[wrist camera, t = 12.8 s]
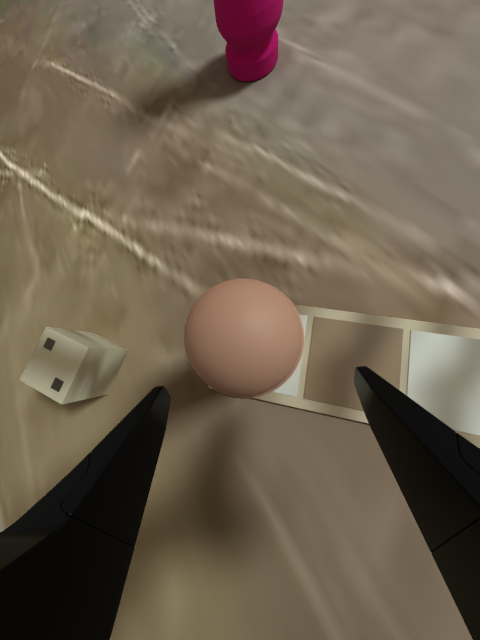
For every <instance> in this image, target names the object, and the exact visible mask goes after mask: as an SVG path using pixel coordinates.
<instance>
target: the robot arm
mask: <svg viewBox="0 0 480 640" xmlns="http://www.w3.org/2000/svg"><path fill="white" fill-rule="evenodd" d="M353 381H354V385H355V388H356V391H357V394H358V396H359V399H360V402H361V405H362V408H363V411H364V413H365V416H366V418H367V421H368V423H369V425H370V427H371V429H372V431H373V433H374V435H375V437H376V439H377V442H378V444H379V446H380V448H381V450H382V452H383V454H384V456H385V458H386V460H387V462H388V464H389V466H390V468H391V471H392V473H393V475H394V477H395V479H396V481H397V483H398V485H399V487H400V489H401V491H402V493H403V495H404V497H405V500H406V502H407V504H408V506H409V508H410V510H411V512H412V514H413V516H414V518H415V520H416V522H417V524H418V526H419V528H420V531H421V533H422V535H423V537H424V539H425V541H426V543H427V545H428V547H429V549H430V551H431V552H432V556H433V558H434V560H435V562H436V564H437V566H438V568H439V570H440V572H441V574H442V576H443V578H444V581H445V583H446V585H447V587H448V589H449V591H450V593H451V595H452V597H453V599H454V601H455V603H456V605H457V607H458V610H459V612H460V614H461V616H462V618H463V620H464V622H465V624H466V626H467V628H468V630H469V632H470V634H471V636H472V639H473V640H480V449H479V448H478V447H477V446H475V445H474V444H472V443H471V442H470V441H468V440H467V439H465V438H464V437H463V436H461V435H460V434H459V433H456V432H455V431H454V430H453V429H452V428H450V427H449V426H448V425H446V424H445V423H444V422H442V421H441V420H439V419H438V418H437V417H435V416H434V415H433V414H431V413H430V412H428V411H427V410H426V409H424V408H423V407H422V406H420V405H419V404H418V403H416V402H415V401H413V400H412V399H411V398H409V397H408V396H407V395H405V394H404V393H403V392H401V391H400V390H398V389H397V388H396V387H394V386H393V385H392V384H390V383H389V382H388V381H386V380H385V379H383V378H382V377H381V376H379V375H378V374H377V373H375V372H374V371H372V370H371V369H370V368H368V367H367V366H358V367H356V368H355V372H354V379H353ZM169 406H170V395H169V393H168V392H167V390H166V388H165V387H164V386H157V387H155V388H153V389H152V390H151V391H150V392H149V393H148V394H147V395H146V396H145V397H144V398H143V399H142V401H141V402H140V403H139V404H138V405H137V406H136V407H135V408H134V409H133V410H132V411H131V412H130V413H129V414H128V415H127V416H126V417H125V418H124V419H123V420H122V421H121V422H120V423H119V424H118V425H117V426H116V427H115V428H114V429H113V430H112V431H111V432H110V433H109V434H108V435H107V436H106V437H105V438H104V439H103V440H102V441H101V442H100V443H99V444H98V445H97V446H96V447H95V448H94V449H93V450H92V451H91V453H89V454H88V455H87V456H86V457H85V458H84V459H83V460H82V461H81V462H80V463H79V464H78V465H77V466H76V467H75V468H74V469H73V470H72V471H71V472H70V473H69V474H68V475H67V476H66V477H65V478H63V479H62V480H61V481H60V482H59V483H58V484H57V485H56V486H55V487H54V488H53V489H52V490H50V491H49V492H48V493H47V494H46V495H45V496H44V497H43V498H42V499H41V500H39V501H38V502H37V503H36V504H35V505H34V506H33V507H32V508H31V509H30V510H28V511H27V512H26V513H25V514H24V515H23V516H22V517H21V518H19V519H18V520H17V521H16V522H15V523H13V524H12V525H11V526H9V527H8V528H7V529H5V530H4V531H2V532H0V640H109V639H110V636H111V633H112V629H113V626H114V622H115V618H116V614H117V611H118V607H119V603H120V599H121V596H122V592H123V588H124V585H125V581H126V577H127V573H128V570H129V566H130V562H131V558H132V555H133V551H134V546H135V543H136V539H137V535H138V532H139V528H140V524H141V521H142V517H143V513H144V509H145V506H146V502H147V498H148V494H149V491H150V487H151V483H152V479H153V476H154V472H155V468H156V464H157V461H158V457H159V453H160V450H161V446H162V442H163V438H164V434H165V430H166V425H167V419H168V412H169Z"/></svg>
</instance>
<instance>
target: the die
mask: <svg viewBox="0 0 480 640" xmlns="http://www.w3.org/2000/svg"><path fill="white" fill-rule="evenodd" d="M127 352H128V349H126V348H124V347H122V346H120V345H117V344H115V343H113V342H111V341H109V340H107V339H105V338H103V337H100V336H98V335H96V334H94V333H90V332H83V331H75V330H68V329H60V328H53V327H46V328H45V330H44V332H43V334H42V336H41V338H40V340H39V342H38V344H37V346H36V348H35V350H34V352H33V354H32V356H31V358H30V360H29V362H28V364H27V366H26V368H25V370H24V372H23V374H22V376H21V378H20V380H21V381H22V382H24V383H26V384H28V385H29V386H31V387H33V388H34V389H36V390H38V391H39V392H41V393H43V394H44V395H46V396H48V397H49V398H51V399H53V400H55V401H56V402H58V403H60V404H61V405H62V404H67V403H71V402H76V401H80V400H85V399H89V398H94V397H99V396H103V395H108V393H109V391H110V389H111V387H112V385H113V382H114V380H115V378H116V376H117V374H118V371H119V369H120V367H121V365H122V363H123V360H124V358H125V356H126V354H127Z"/></svg>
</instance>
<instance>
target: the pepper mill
mask: <svg viewBox="0 0 480 640" xmlns="http://www.w3.org/2000/svg"><path fill="white" fill-rule="evenodd" d="M214 8H215V16H216V23H217V27H218V29H219V32H220V33H221V35H222V36H223V38H224V39H225V40H226V41H227V45H226V57H227V63H228V69H229V72H230V74H231V75H232V76H233V77H234V78H235V79H237V80H239V81H245V82H250V81H255V80H258V79H260V78H262V77H264V76H265V75H267V74H268V73H269V72H270V71H271V70H272V69H273V68H274V66H275V65H276V62H277V59H278V34H277V31H276V30H275V28H276V26H277V24H278V22H279V19H280V17H281V13H282V8H283V0H214Z"/></svg>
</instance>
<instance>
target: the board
mask: <svg viewBox="0 0 480 640" xmlns="http://www.w3.org/2000/svg"><path fill="white" fill-rule="evenodd" d="M294 306H295V308H296V310H297V311H298V313H299V316H300V318H301V321H302V325H303V330H304V347H303V352H302V356H301V359H300V362H299V364H298V366H297V368H296V370H295V371H294V373H293V374H292V376H291V377H290V378H289V379H288V380H287V381H286V382H285V383H284V384H283V385H282V386H280V387H279V388H277V389H276V390H274V391H273V392H271V393H268V394H266V395H263V396H260V397H256V398H255V399H260V400H264V401H269V402H273V403H278V404H282V405H287V406H291V407H296V408H300V409H305V410H310V411H314V412H319V413H323V414H328V415H332V416H337V417H341V418H346V419H350V420H355V421H359V422H364V423H368V421H367V418H366V416H365V413H364V411H363V408H362V405H361V402H360V399H359V396H358V394H357V391H356V388H355V385H354V381H353V379H354V372H355V368H356V367H358V366H367V367H368V368H370V369H371V370H372V371H374V372H375V373H377V374H378V375H379V376H381V377H382V378H383V379H385V380H386V381H388V382H389V383H390V384H392V385H393V386H394V387H396V388H397V389H398V390H400V391H401V392H403V393H404V394H405V395H407V396H408V397H409V398H411V399H412V400H413V401H415V402H416V403H418V404H419V405H420V406H422V407H423V408H424V409H426V410H427V411H428V412H430V413H431V414H433V415H434V416H435V417H437V418H438V419H439V420H441V421H442V422H444V423H445V424H446V425H448V426H449V427H450V428H452V429H453V430H454V431H455V432H456V433H459V434H460V435H461V436H463V437H464V438H465V439H467V440H468V441H470V442H471V443H472V444H474V445H475V446H477V447H478V448H480V329H477V328H470V327H462V326H454V325H447V324H439V323H431V322H424V321H416V320H408V319H401V318H393V317H385V316H377V315H370V314H362V313H354V312H347V311H339V310H331V309H324V308H316V307H308V306H301V305H294ZM209 388H210V389H212V388H211V387H209ZM368 424H369V423H368Z"/></svg>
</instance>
